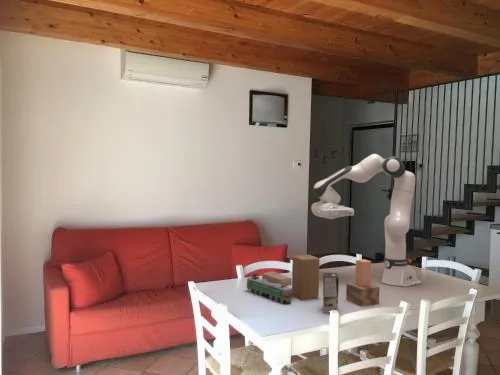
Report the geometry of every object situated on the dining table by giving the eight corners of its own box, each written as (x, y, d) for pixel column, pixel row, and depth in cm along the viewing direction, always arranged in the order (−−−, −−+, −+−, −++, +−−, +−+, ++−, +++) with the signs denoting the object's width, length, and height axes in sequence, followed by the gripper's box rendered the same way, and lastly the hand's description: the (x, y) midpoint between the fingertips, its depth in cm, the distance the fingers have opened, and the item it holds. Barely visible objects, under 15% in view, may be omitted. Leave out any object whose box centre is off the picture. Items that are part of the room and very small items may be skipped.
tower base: (364, 297, 216) (364, 281, 215) (379, 303, 206) (379, 287, 205) (346, 299, 211) (346, 283, 211) (360, 306, 201) (360, 289, 201)
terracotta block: (363, 283, 211) (364, 259, 211) (370, 286, 207) (371, 261, 206) (355, 284, 209) (356, 259, 209) (361, 287, 205) (362, 262, 204)
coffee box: (338, 313, 190) (339, 277, 190) (323, 313, 191) (324, 277, 190) (336, 307, 199) (337, 272, 199) (322, 306, 200) (323, 272, 199)
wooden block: (291, 294, 218) (292, 255, 217) (308, 292, 222) (309, 254, 221) (300, 300, 209) (301, 259, 208) (318, 298, 212) (319, 258, 212)
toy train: (251, 289, 227) (251, 270, 227) (294, 304, 204) (295, 282, 203) (244, 291, 224) (244, 271, 223) (287, 306, 200) (288, 284, 200)
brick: (292, 285, 237) (292, 276, 237) (281, 287, 232) (281, 278, 232) (272, 279, 250) (272, 271, 250) (261, 281, 245) (261, 273, 245)
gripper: (315, 206, 241) (329, 208, 228) (345, 205, 249) (360, 207, 236) (314, 217, 241) (328, 220, 228) (344, 216, 249) (360, 218, 237)
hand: (345, 213), depth 233 cm, fingers open, 8 cm apart
